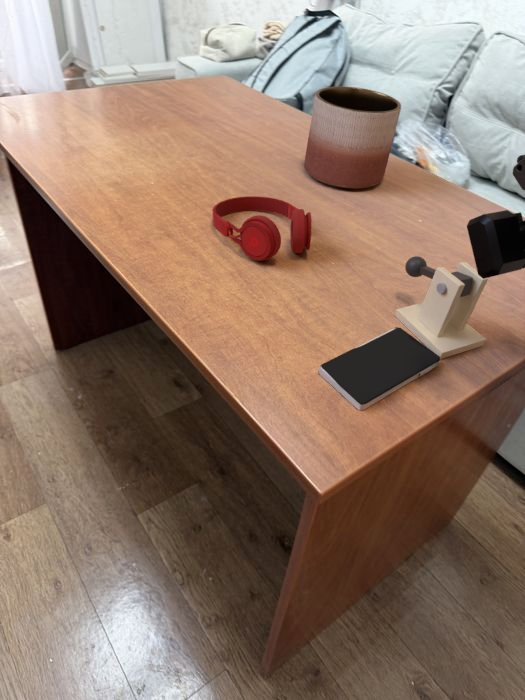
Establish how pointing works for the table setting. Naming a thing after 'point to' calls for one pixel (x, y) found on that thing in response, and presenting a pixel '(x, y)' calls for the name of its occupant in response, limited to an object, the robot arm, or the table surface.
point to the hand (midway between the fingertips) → (482, 253)
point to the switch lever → (419, 267)
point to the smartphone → (378, 367)
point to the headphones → (263, 226)
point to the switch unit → (446, 313)
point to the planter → (351, 136)
